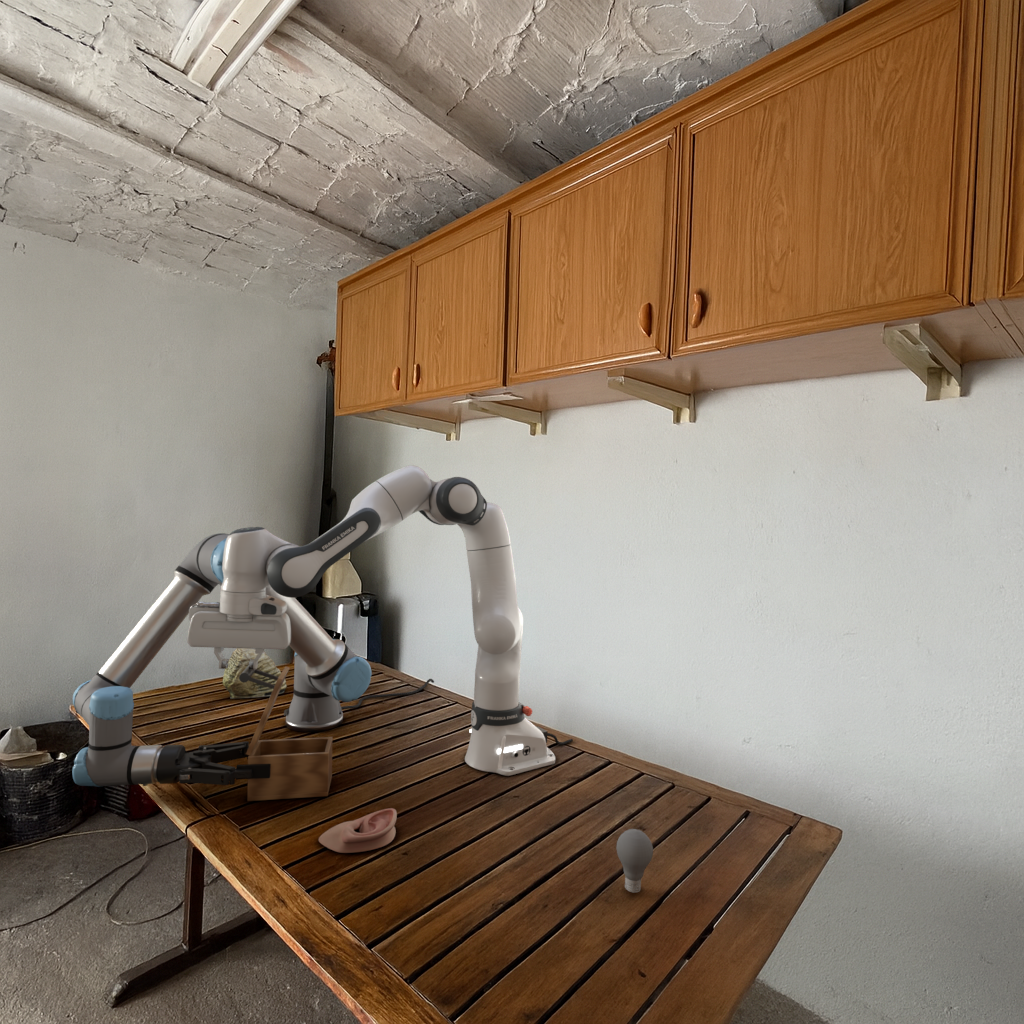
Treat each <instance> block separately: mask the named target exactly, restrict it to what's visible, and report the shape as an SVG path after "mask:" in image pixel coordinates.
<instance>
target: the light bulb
mask: <svg viewBox="0 0 1024 1024" xmlns="http://www.w3.org/2000/svg"><path fill="white" fill-rule="evenodd" d="M615 849H616V854H617V857H618V859H619V861H620V863H621V865H622V867H623V873H624V874H623V875H624V876H625V878H624V888H625V890H627V891H628V892H630V893H634V894H635V893H639V892H640V891H641V889H642V887H641V886H642V879H643V877H644V875H645V871H646V868H647V867H648V866H649V864H650V863H651V861H652V859H653V855H654V847H653V843H652V841H651V838H649V836H648V835H647V834H646V833H645V832H643V831H642V830H641V829H636V828H629V829H627V830H625V831H623V832H622V833H621V834H620V835H619V837H618V839H617V841H616V847H615Z"/></svg>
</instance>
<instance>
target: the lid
mask: <svg viewBox="0 0 1024 1024" xmlns="http://www.w3.org/2000/svg"><path fill="white" fill-rule="evenodd" d="M289 671H290V667H289V666H286V665H285V666H284V668H283V670H282V671H281V674H280V676H279V677H278V676H275V675H272V674H269V673H266V672H263V671H260V670H257V669H249V665H248V666H247V667H246V669H245V670H244V671H243V672H242V673H241V675H240V676H239V680H240V681H241V682H247V681H251V682H254V683H257V684H260V685H263V686H266V687H269V688H272V689H273V691H272V694H271V696H269V699H268V701H267V703H266V706H265V708H264V710H263V713H262V715H261V717H260V719H259V722H258V724H257V726H256V729H255V731H254V733H253V736H252V739H251V741H250V743H249V748H248V750H247V752H246V754H247V755H251V753H252V751H253V750H254V748H255V746H256V744H257V742H258V740H261V737H262V736H261V735H262V734H263V732H264V730H265V727H266V724H267V722H268V720H269V718H270V715H271V712H272V711H273V708H274V706H275V704H276V701H277V699H278V696H279V695H280V694H279V692H280V689H281V687H282V685H283V682H284V680H286V678H287V675H288V673H289ZM254 673H256V674H259V675H262V676H265V677H268V678H271V679H274V680H277V682H276V684H275V685H273V684H270V683H267V682H264V681H261V680H259V679H256V678H253V677H251V676H252V675H253V674H254Z"/></svg>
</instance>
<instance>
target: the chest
mask: <svg viewBox="0 0 1024 1024" xmlns="http://www.w3.org/2000/svg"><path fill="white" fill-rule="evenodd" d="M247 764H271V767H270V778H259V779H247V799H246V800H247V802H254V801H255V802H257V801H271V800H289V799H304V798H320V797H328V796H329V791H330V786H331V783H332V778H333V736H323V737H302V738H301V737H298V738H279V739H259V740H258V742H257V744H256V746H255V748H254V750H253V751H252V753H251V755H249V757H248V759H247Z"/></svg>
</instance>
